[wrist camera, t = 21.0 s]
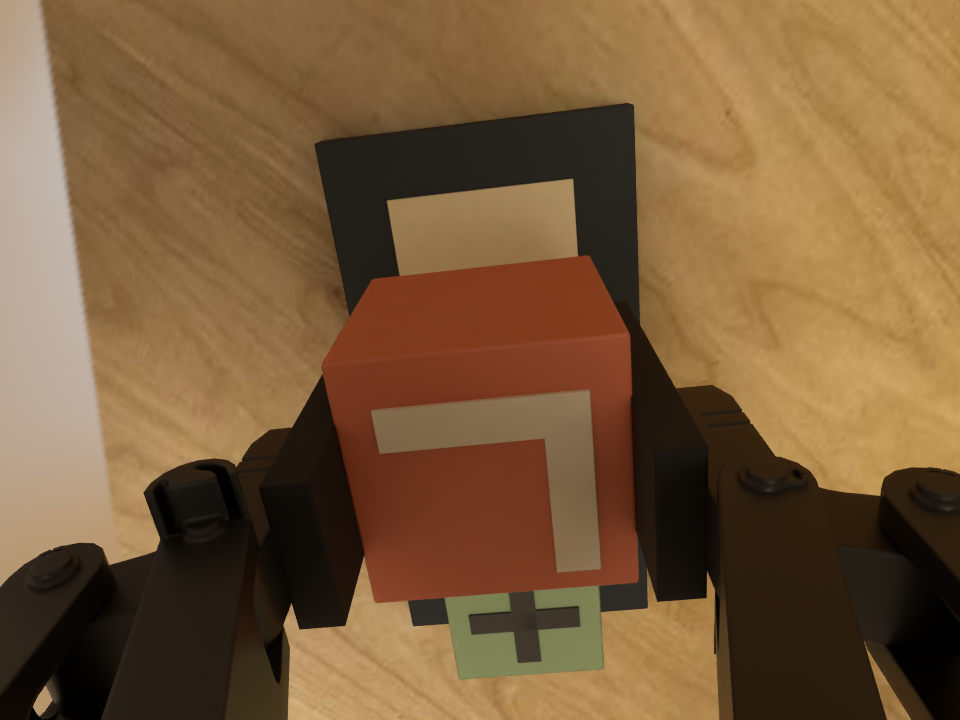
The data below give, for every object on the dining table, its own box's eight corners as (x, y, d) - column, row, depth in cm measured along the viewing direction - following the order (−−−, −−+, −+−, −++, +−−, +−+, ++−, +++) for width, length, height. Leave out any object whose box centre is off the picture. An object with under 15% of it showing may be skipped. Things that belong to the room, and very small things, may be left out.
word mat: (319, 141, 22) (312, 144, 21) (629, 103, 22) (634, 104, 21) (415, 613, 30) (412, 628, 29) (644, 595, 29) (648, 610, 29)
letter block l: (371, 278, 16) (317, 366, 11) (590, 254, 15) (632, 334, 11) (406, 464, 18) (373, 609, 13) (601, 447, 17) (641, 588, 13)
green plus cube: (448, 477, 26) (438, 567, 21) (578, 465, 26) (597, 553, 21) (464, 580, 28) (458, 682, 23) (586, 570, 28) (604, 672, 23)
